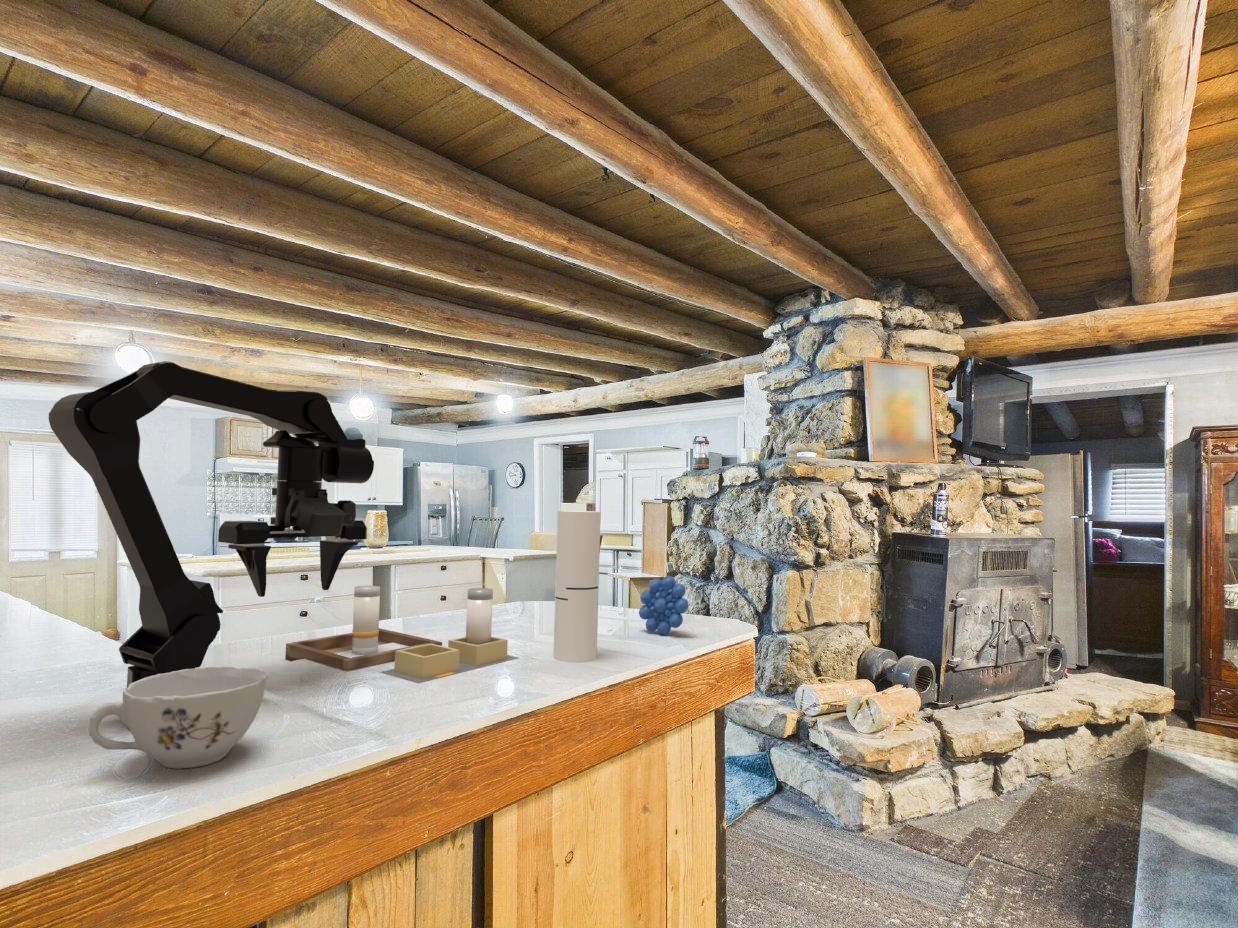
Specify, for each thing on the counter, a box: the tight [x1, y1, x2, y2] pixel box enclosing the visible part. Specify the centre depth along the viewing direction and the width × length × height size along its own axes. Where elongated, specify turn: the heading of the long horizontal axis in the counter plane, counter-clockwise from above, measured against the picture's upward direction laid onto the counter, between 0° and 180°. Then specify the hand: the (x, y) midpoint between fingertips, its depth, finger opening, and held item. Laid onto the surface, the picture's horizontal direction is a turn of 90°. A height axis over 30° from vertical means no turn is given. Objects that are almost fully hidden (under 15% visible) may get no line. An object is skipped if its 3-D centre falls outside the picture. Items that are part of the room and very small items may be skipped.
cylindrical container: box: [553, 510, 602, 664], centre depth 113 cm, size 7×7×25 cm
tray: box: [284, 627, 443, 672], centre depth 112 cm, size 17×17×2 cm
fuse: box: [465, 587, 494, 645], centre depth 110 cm, size 4×4×11 cm
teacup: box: [88, 666, 270, 769], centre depth 68 cm, size 15×12×8 cm
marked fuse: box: [351, 585, 381, 656], centre depth 112 cm, size 4×4×11 cm
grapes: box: [638, 575, 689, 636], centre depth 138 cm, size 12×7×12 cm, turn 53°
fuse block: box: [379, 635, 520, 684], centre depth 105 cm, size 20×9×4 cm, turn 144°
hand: (294, 593), depth 95 cm, fingers open, 9 cm apart
